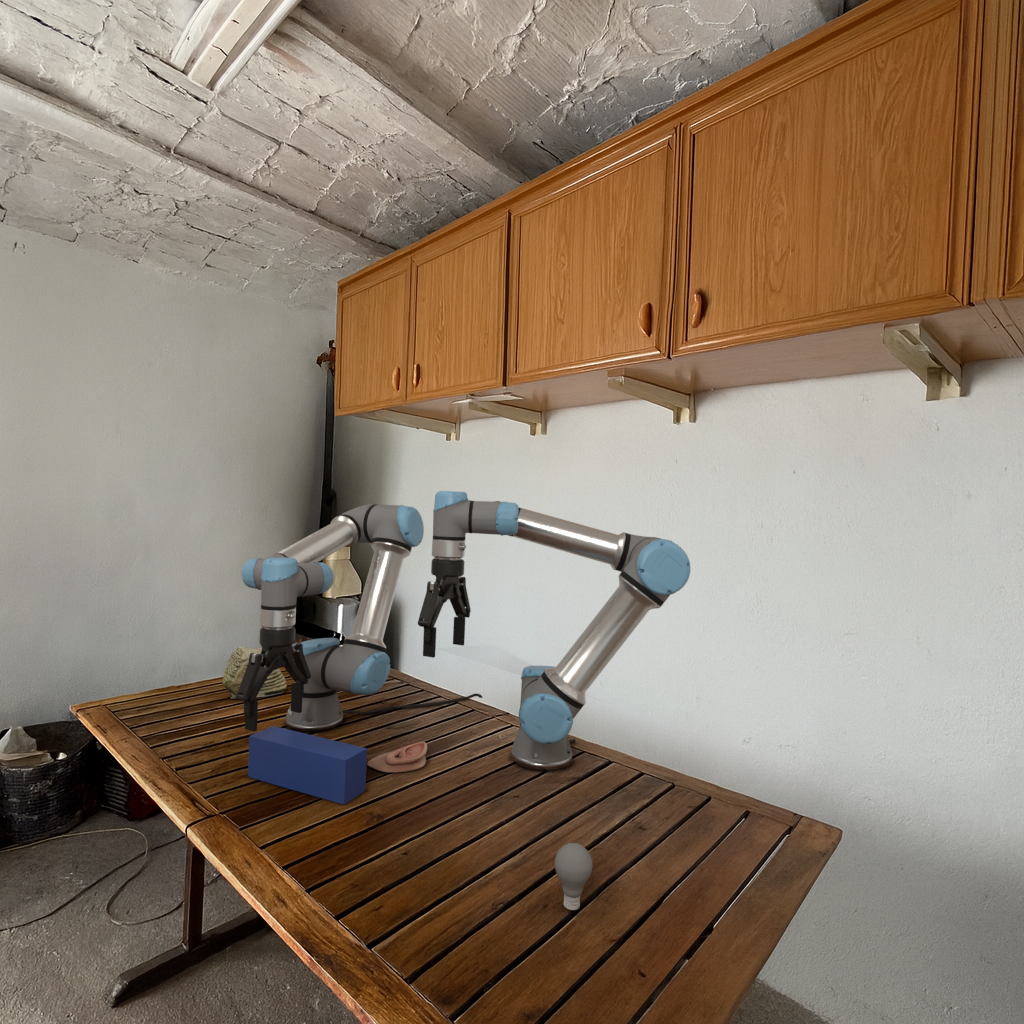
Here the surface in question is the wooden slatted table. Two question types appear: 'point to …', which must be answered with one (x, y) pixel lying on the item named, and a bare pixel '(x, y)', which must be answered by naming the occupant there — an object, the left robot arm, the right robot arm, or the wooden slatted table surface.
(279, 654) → the left robot arm
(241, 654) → the fossil
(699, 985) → the wooden slatted table surface
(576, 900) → the light bulb
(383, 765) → the anatomical model
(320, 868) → the wooden slatted table surface
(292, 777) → the box
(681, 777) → the wooden slatted table surface
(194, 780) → the wooden slatted table surface
